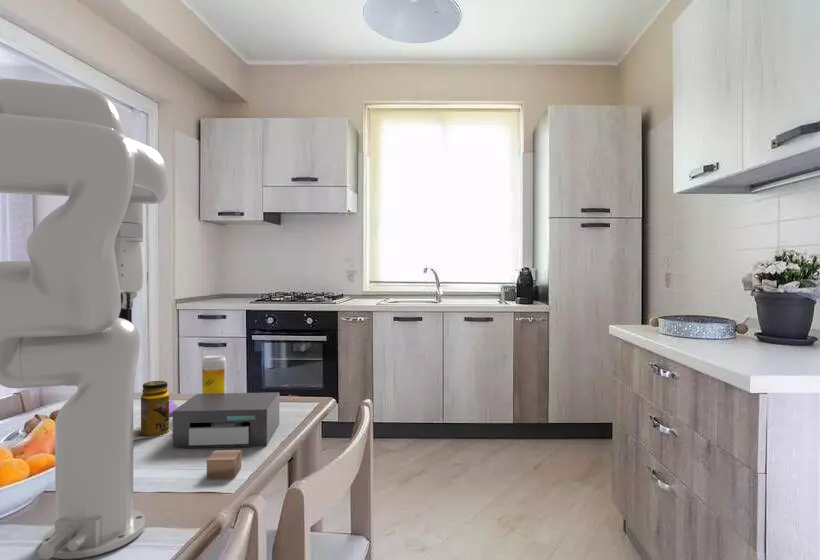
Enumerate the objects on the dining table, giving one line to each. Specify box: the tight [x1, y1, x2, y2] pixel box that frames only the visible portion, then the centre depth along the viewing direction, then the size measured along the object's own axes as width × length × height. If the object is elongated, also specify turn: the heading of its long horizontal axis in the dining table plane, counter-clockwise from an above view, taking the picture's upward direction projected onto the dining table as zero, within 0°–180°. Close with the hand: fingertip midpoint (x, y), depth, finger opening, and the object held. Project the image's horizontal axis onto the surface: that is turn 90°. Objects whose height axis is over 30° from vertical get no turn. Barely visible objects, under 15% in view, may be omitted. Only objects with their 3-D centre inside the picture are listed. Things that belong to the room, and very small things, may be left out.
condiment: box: [133, 380, 173, 441], centre depth 119 cm, size 7×8×12 cm
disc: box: [211, 422, 243, 427], centre depth 116 cm, size 7×7×2 cm
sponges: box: [169, 400, 179, 418], centre depth 138 cm, size 7×13×2 cm, turn 34°
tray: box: [189, 422, 250, 445], centre depth 117 cm, size 16×12×4 cm
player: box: [172, 392, 280, 449], centre depth 118 cm, size 16×20×8 cm
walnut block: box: [206, 449, 242, 480], centre depth 96 cm, size 5×5×4 cm
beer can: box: [201, 354, 227, 394], centre depth 139 cm, size 6×6×15 cm
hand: (121, 329), depth 96 cm, fingers closed
